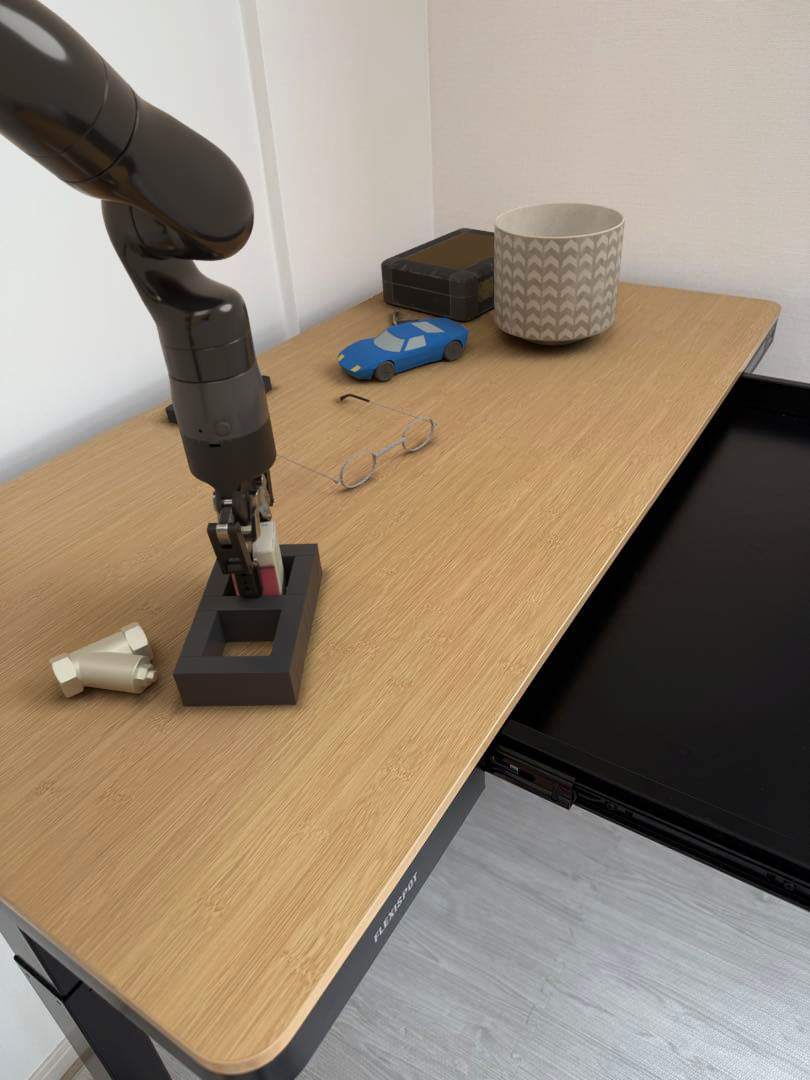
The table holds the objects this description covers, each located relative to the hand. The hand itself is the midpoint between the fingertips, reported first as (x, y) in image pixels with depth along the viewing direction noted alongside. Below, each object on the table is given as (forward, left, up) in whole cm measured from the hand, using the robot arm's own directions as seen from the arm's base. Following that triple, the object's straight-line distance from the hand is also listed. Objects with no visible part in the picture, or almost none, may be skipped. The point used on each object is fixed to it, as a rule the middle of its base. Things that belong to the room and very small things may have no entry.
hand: (258, 574), depth 76 cm
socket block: (-4, 0, -4) cm, 6 cm away
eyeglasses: (+32, -4, -4) cm, 33 cm away
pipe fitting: (-10, +12, -4) cm, 16 cm away
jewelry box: (+88, -21, -4) cm, 90 cm away
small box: (0, 0, -4) cm, 4 cm away
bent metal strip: (+74, -10, -4) cm, 75 cm away
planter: (+65, -35, -4) cm, 74 cm away
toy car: (+57, -11, -4) cm, 59 cm away
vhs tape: (+45, +15, -4) cm, 48 cm away
